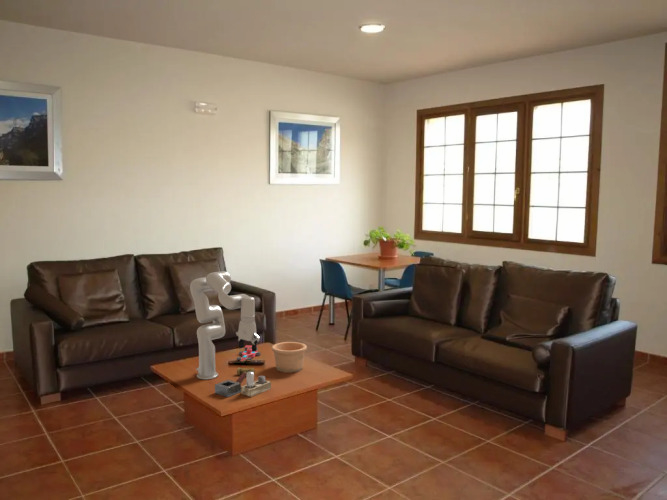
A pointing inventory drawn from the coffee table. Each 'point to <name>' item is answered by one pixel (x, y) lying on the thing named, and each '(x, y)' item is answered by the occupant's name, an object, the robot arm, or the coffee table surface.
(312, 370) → the coffee table surface
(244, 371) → the gavel
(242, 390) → the rack
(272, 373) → the coffee table surface
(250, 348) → the race car
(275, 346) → the pottery
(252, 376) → the silver metal cylinder
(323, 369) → the coffee table surface
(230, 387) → the socket
